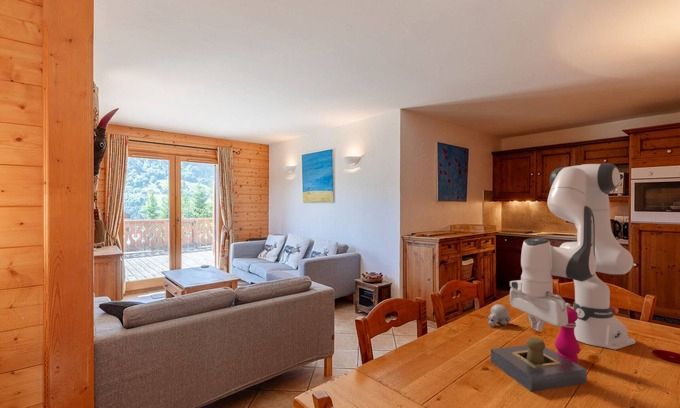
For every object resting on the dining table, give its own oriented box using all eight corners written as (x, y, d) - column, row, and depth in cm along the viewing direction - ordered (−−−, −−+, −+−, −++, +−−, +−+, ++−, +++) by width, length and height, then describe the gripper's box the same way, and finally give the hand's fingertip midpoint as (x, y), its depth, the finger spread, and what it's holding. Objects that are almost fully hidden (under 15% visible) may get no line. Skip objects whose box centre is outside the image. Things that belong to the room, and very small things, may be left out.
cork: (549, 378, 102) (549, 343, 102) (528, 375, 104) (528, 341, 103) (542, 368, 108) (542, 335, 108) (522, 366, 110) (522, 334, 109)
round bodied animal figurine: (484, 329, 147) (479, 313, 146) (499, 315, 152) (495, 299, 151) (498, 334, 141) (493, 318, 139) (514, 319, 146) (509, 303, 145)
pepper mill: (575, 355, 117) (575, 301, 116) (583, 365, 110) (583, 307, 110) (552, 352, 119) (552, 299, 119) (558, 362, 112) (558, 305, 112)
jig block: (538, 355, 117) (539, 342, 117) (586, 383, 99) (586, 368, 99) (490, 361, 113) (490, 348, 112) (531, 391, 95) (531, 375, 95)
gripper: (573, 296, 96) (573, 342, 96) (521, 279, 116) (521, 317, 116) (555, 298, 95) (556, 344, 95) (506, 280, 115) (506, 319, 115)
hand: (536, 329), depth 106 cm, fingers closed
